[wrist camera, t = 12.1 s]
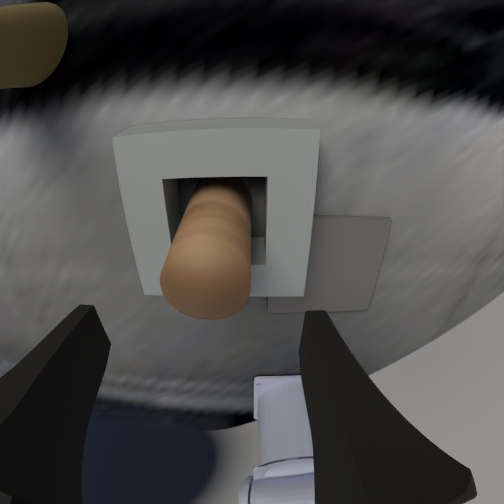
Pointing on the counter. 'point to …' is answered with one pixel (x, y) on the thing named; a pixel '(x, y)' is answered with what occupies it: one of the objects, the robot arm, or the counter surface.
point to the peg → (211, 252)
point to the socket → (222, 165)
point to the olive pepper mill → (30, 43)
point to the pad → (339, 265)
